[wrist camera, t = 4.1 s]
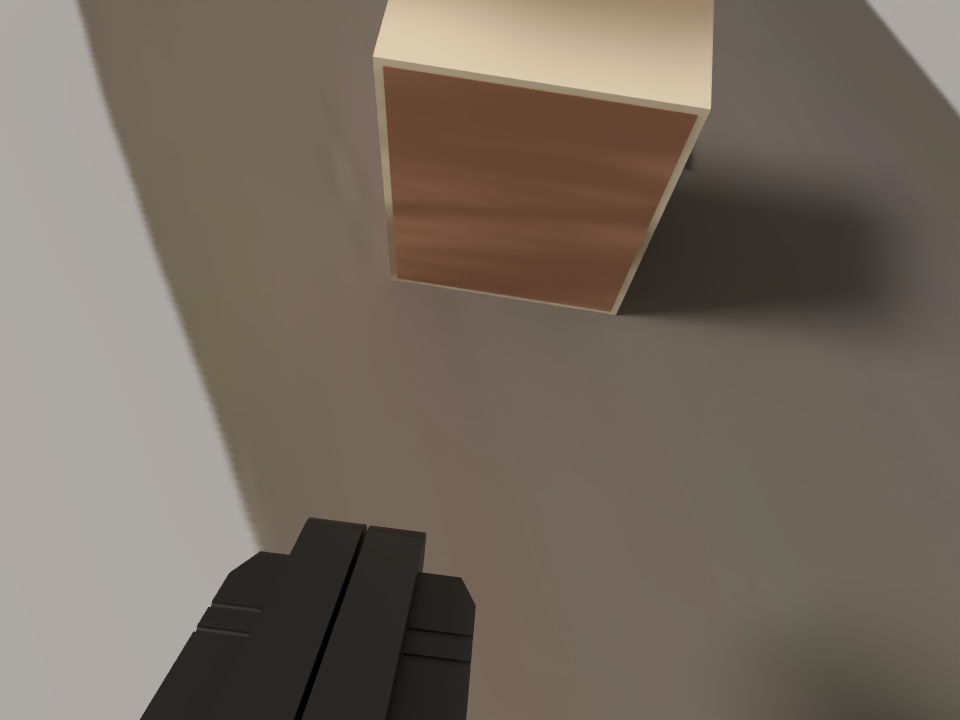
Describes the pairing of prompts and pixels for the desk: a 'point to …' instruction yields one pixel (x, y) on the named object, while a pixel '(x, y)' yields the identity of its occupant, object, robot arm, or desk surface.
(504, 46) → the maple block
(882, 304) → the desk surface
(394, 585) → the robot arm
